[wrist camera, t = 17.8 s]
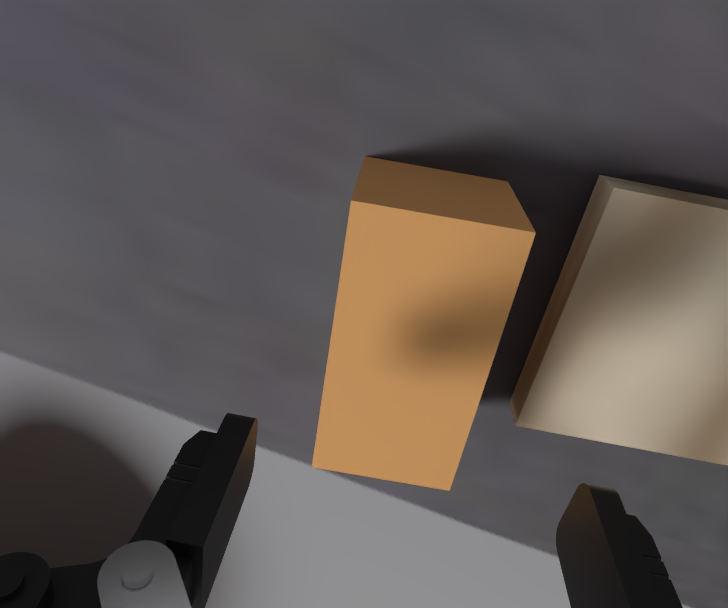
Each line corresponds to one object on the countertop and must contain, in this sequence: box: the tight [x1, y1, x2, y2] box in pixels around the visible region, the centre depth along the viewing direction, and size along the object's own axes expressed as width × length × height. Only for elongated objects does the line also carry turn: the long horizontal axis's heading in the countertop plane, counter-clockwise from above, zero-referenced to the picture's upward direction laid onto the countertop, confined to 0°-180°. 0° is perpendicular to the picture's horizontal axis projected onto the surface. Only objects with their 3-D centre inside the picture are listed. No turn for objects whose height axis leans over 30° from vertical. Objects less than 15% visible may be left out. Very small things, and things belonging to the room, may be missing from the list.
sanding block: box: [312, 156, 536, 491], centre depth 19 cm, size 5×10×5 cm, turn 171°
